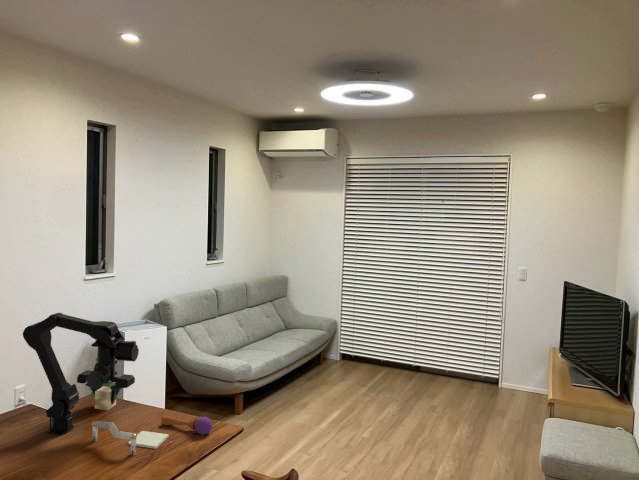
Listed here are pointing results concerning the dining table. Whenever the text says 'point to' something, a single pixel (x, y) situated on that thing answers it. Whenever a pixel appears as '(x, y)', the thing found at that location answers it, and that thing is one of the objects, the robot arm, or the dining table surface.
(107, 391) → the birch block
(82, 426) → the dining table surface
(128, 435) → the steel handle
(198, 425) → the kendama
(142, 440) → the sage pad
